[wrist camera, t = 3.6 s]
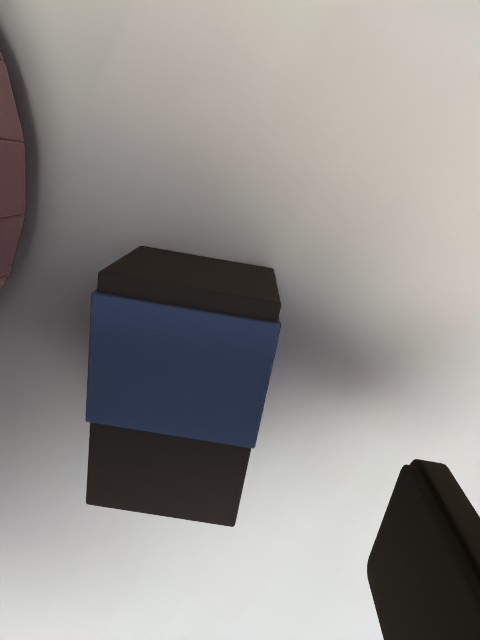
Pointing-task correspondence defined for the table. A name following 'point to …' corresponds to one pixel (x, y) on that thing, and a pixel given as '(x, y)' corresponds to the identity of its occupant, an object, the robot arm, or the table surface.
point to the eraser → (177, 382)
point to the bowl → (10, 175)
